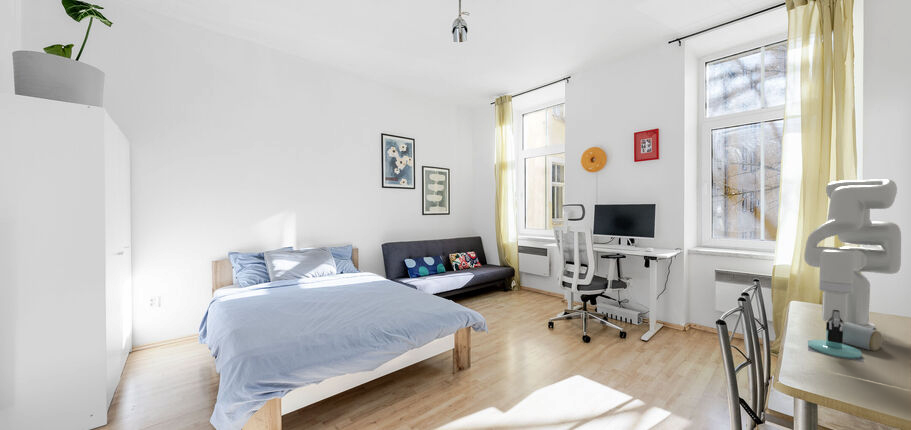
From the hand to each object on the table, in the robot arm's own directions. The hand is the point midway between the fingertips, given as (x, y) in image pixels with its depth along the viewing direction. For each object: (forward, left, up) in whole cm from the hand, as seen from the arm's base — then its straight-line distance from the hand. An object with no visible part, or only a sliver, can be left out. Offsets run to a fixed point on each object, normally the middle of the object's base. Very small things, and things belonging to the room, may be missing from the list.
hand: (834, 338), depth 114 cm
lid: (0, 0, -4) cm, 4 cm away
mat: (0, 0, -5) cm, 5 cm away
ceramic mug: (-13, +7, -5) cm, 16 cm away
